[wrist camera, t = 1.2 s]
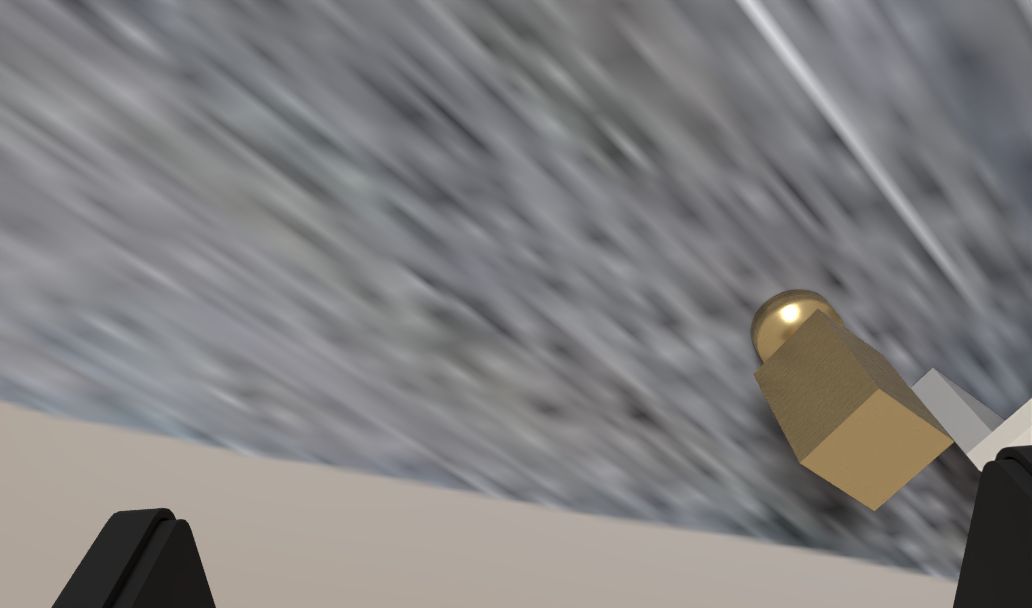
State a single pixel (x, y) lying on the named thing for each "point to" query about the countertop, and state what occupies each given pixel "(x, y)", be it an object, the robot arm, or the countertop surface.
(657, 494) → the countertop surface
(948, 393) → the notched white bracket
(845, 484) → the brass peg
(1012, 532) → the robot arm
